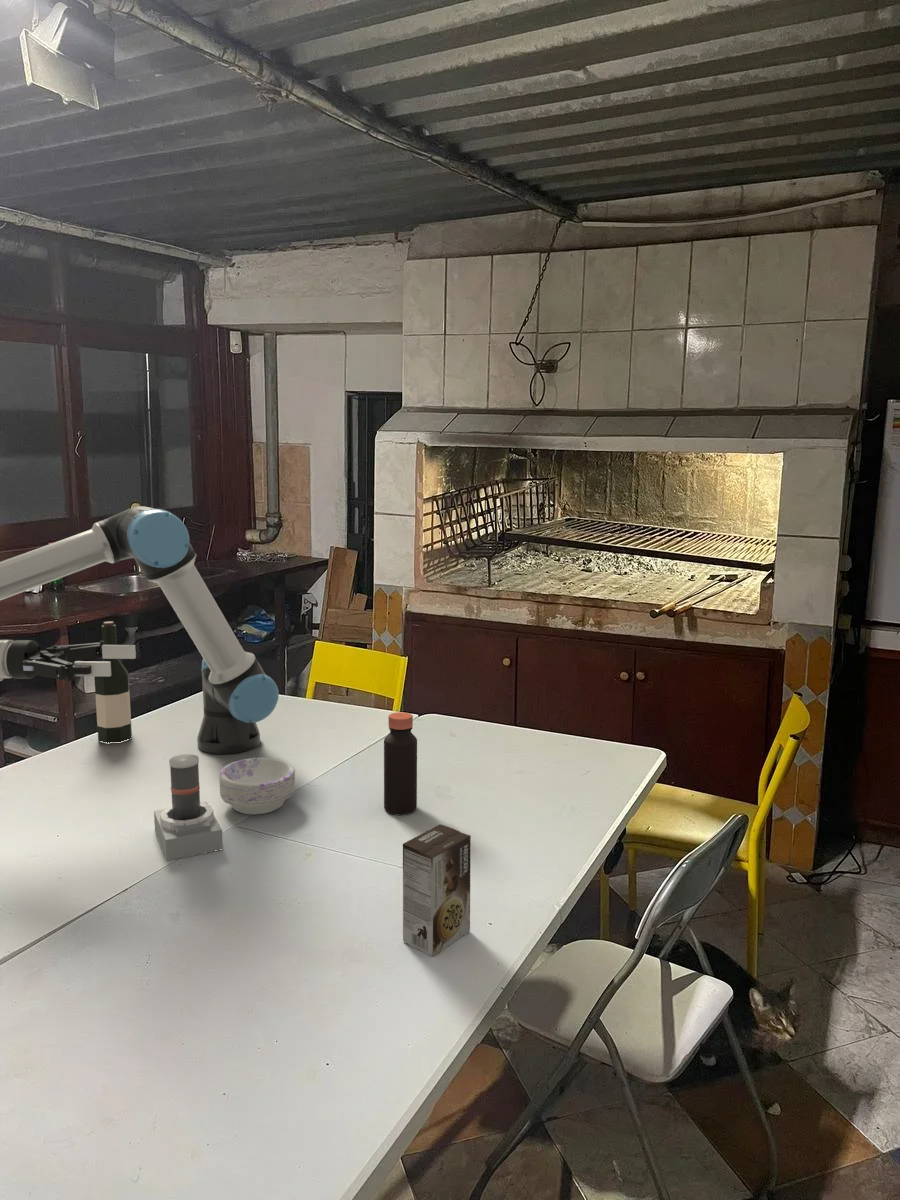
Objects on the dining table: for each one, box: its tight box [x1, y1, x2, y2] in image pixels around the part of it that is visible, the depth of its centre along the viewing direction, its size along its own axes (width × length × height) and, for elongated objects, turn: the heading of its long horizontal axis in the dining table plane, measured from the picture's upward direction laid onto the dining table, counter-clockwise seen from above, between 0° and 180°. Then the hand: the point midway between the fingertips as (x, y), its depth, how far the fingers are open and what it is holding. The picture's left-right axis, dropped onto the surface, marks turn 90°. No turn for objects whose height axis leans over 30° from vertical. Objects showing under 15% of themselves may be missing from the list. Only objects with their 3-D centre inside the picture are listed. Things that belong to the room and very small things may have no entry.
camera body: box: [153, 801, 224, 861], centre depth 165 cm, size 10×14×6 cm
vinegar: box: [383, 711, 418, 816], centre depth 178 cm, size 7×7×20 cm
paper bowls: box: [218, 756, 296, 816], centre depth 180 cm, size 15×15×8 cm
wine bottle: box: [93, 620, 133, 743], centre depth 218 cm, size 8×8×30 cm
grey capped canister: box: [168, 753, 201, 820], centre depth 163 cm, size 5×5×12 cm
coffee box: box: [402, 823, 472, 957], centre depth 132 cm, size 9×6×16 cm
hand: (123, 660), depth 170 cm, fingers open, 13 cm apart
